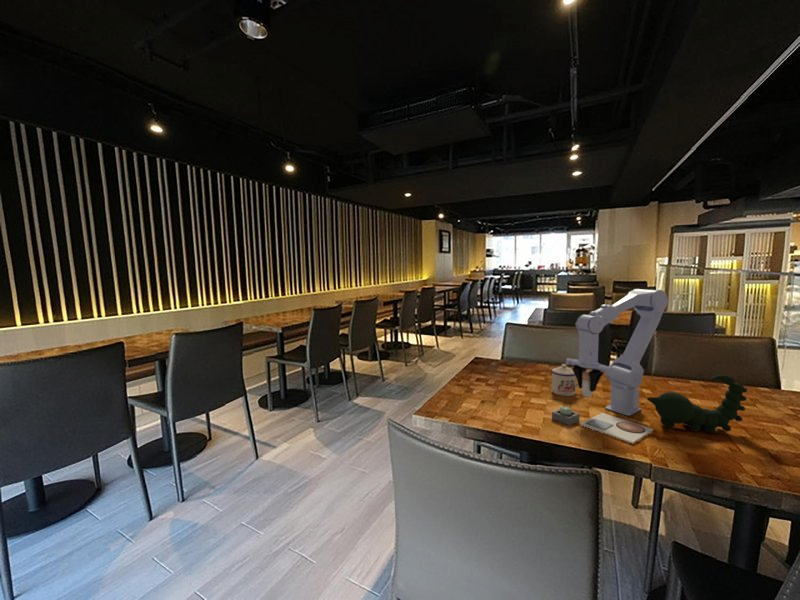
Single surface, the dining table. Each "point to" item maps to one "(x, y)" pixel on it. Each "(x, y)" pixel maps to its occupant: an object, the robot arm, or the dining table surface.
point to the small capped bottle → (586, 384)
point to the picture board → (617, 427)
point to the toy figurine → (683, 411)
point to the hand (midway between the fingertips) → (587, 389)
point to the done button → (565, 411)
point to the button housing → (565, 417)
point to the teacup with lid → (563, 381)
